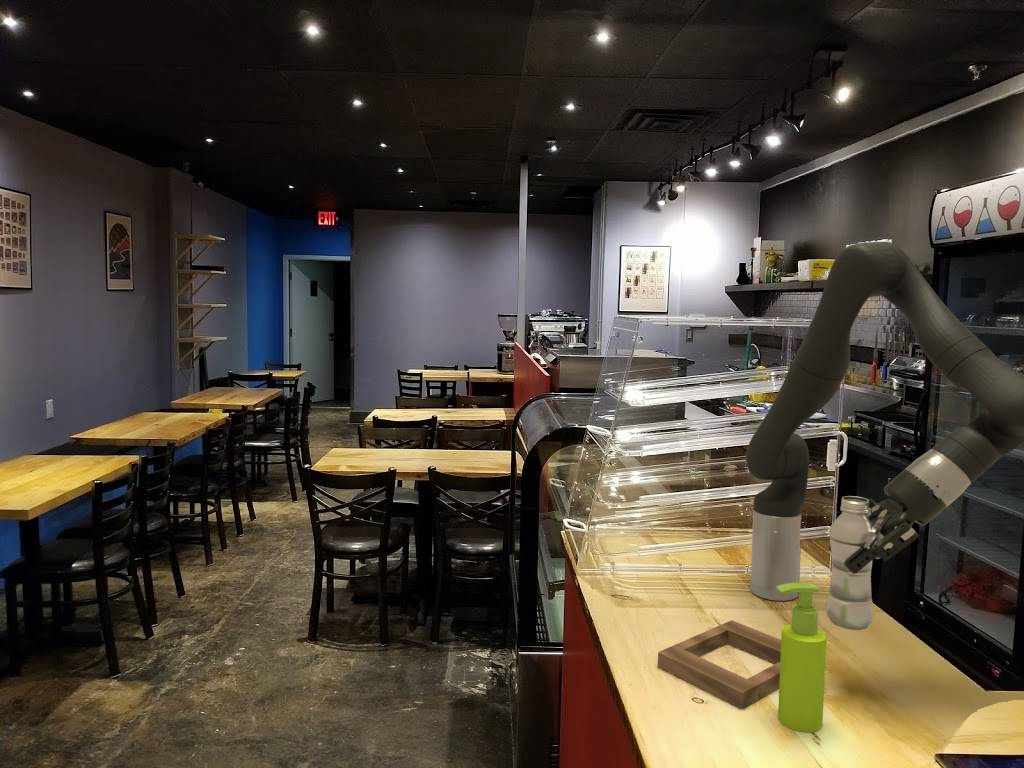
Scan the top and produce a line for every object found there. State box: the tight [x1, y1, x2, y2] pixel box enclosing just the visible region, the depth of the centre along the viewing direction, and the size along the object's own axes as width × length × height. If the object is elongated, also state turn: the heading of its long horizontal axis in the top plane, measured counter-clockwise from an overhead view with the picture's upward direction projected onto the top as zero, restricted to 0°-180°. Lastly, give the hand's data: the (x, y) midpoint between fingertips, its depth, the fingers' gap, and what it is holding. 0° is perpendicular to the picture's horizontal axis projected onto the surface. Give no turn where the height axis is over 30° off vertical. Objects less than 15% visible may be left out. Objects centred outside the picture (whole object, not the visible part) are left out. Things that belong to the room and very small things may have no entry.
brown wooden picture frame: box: [657, 619, 781, 710], centre depth 118 cm, size 20×16×2 cm
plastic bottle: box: [825, 495, 877, 631], centre depth 111 cm, size 6×7×20 cm
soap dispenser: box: [776, 582, 828, 733], centre depth 102 cm, size 6×7×20 cm
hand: (840, 560), depth 111 cm, fingers closed on plastic bottle, 6 cm apart
